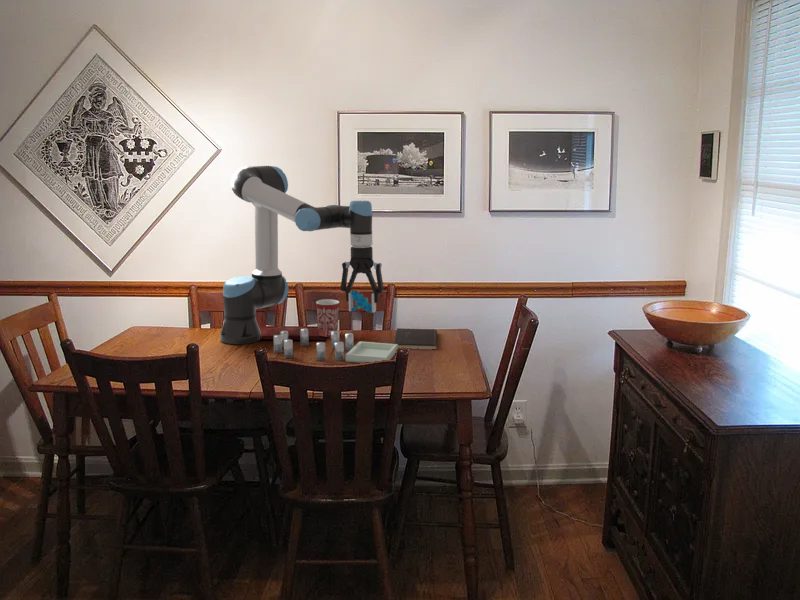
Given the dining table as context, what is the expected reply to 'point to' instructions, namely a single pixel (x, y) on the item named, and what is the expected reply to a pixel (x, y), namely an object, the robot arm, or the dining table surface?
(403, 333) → the hardcover book
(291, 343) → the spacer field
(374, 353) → the parts tray
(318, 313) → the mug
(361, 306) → the blue plastic irregular piece
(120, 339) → the dining table surface
